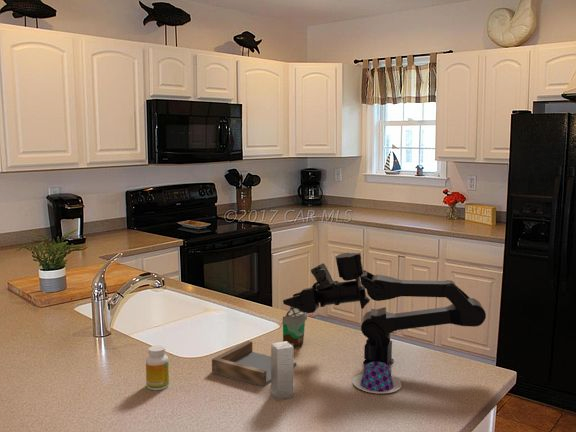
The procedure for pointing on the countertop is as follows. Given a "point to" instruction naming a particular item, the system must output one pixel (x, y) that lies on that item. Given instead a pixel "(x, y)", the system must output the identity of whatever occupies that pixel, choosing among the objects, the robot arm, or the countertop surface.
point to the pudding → (377, 379)
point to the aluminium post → (282, 370)
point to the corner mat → (255, 366)
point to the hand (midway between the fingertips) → (288, 299)
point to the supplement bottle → (157, 368)
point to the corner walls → (229, 367)
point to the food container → (294, 327)
